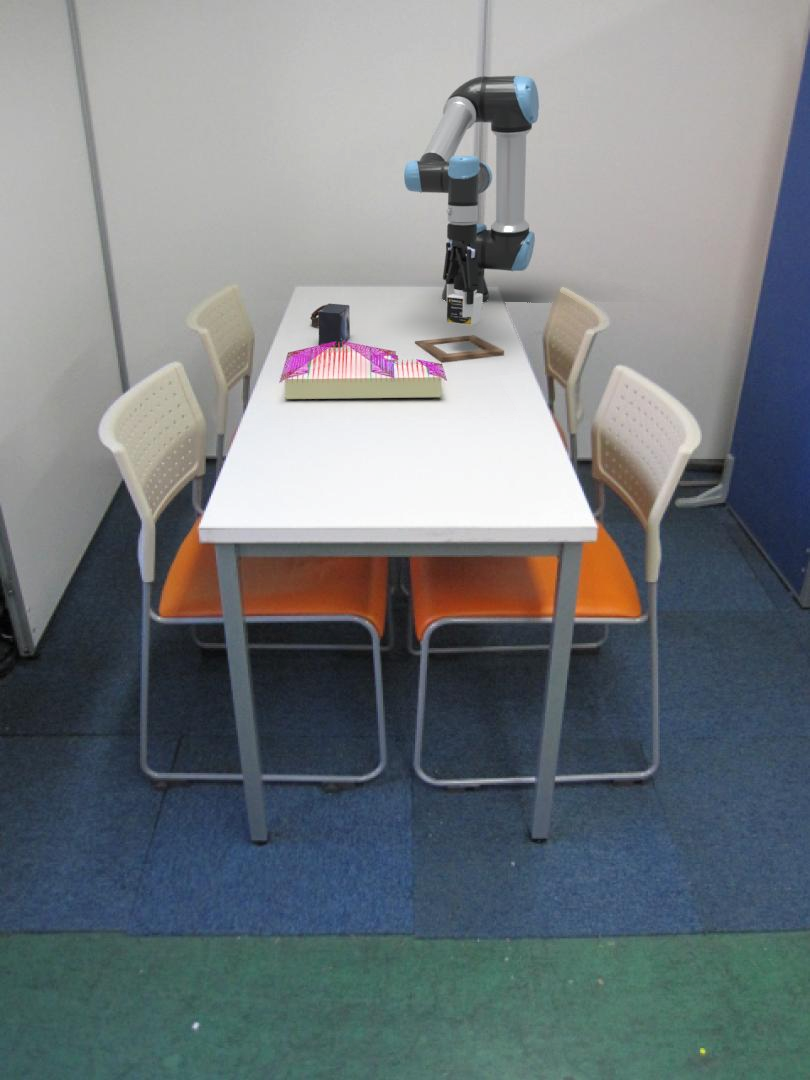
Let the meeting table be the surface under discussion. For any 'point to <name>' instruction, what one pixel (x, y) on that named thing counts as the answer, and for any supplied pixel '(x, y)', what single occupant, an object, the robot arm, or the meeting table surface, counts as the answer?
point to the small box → (334, 324)
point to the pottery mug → (314, 316)
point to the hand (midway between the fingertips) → (459, 312)
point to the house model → (358, 374)
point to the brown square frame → (443, 357)
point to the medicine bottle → (457, 305)
